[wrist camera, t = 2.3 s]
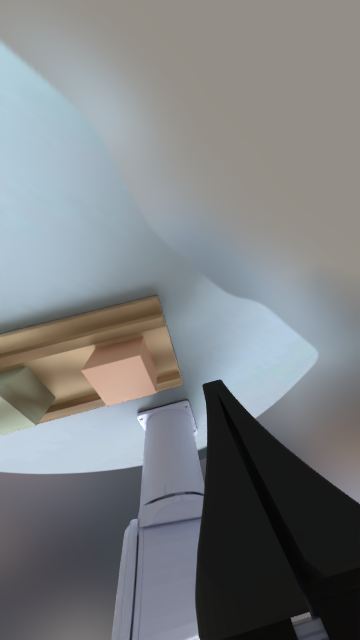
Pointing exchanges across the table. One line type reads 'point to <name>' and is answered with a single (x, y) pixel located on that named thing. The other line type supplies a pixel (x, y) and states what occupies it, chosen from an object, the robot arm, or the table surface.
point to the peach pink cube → (122, 371)
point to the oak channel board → (74, 361)
